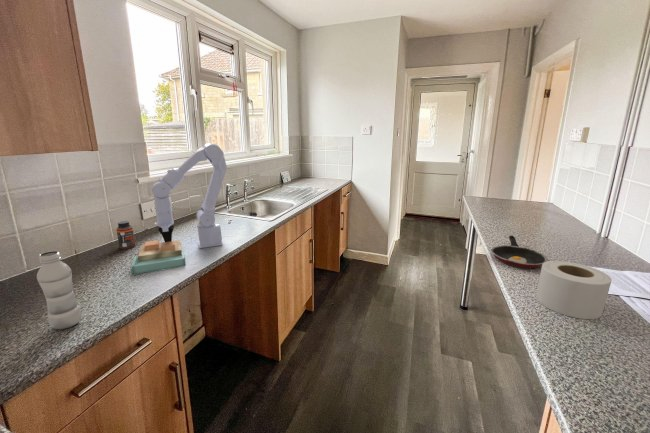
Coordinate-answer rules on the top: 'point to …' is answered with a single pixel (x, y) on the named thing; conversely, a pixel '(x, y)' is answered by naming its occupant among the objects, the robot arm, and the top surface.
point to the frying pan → (518, 255)
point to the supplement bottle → (125, 235)
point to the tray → (158, 264)
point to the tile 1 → (152, 245)
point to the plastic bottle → (58, 291)
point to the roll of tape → (573, 289)
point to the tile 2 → (168, 246)
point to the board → (159, 252)
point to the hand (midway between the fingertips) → (168, 243)
